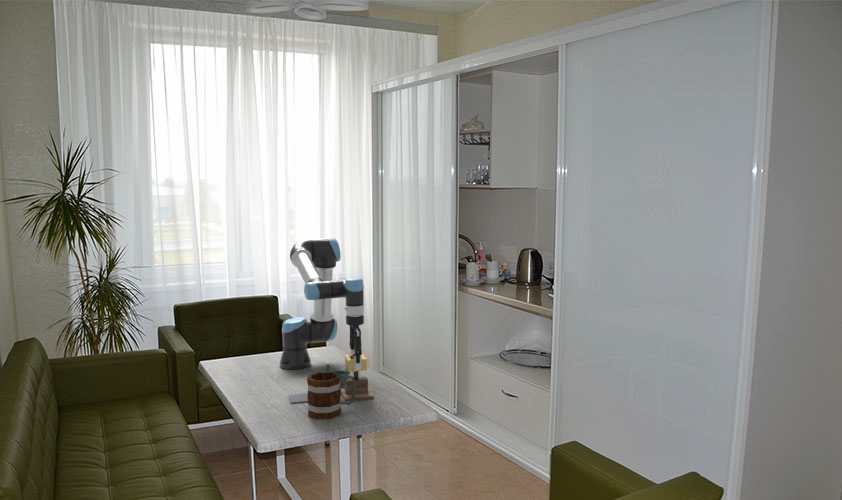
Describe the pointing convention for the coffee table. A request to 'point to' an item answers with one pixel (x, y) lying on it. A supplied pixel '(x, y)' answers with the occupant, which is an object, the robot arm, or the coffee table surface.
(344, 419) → the coffee table surface
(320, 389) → the mug
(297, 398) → the felt mat
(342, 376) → the bracket
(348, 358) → the hollow wooden square frame
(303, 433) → the coffee table surface
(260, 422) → the coffee table surface
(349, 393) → the post stand
